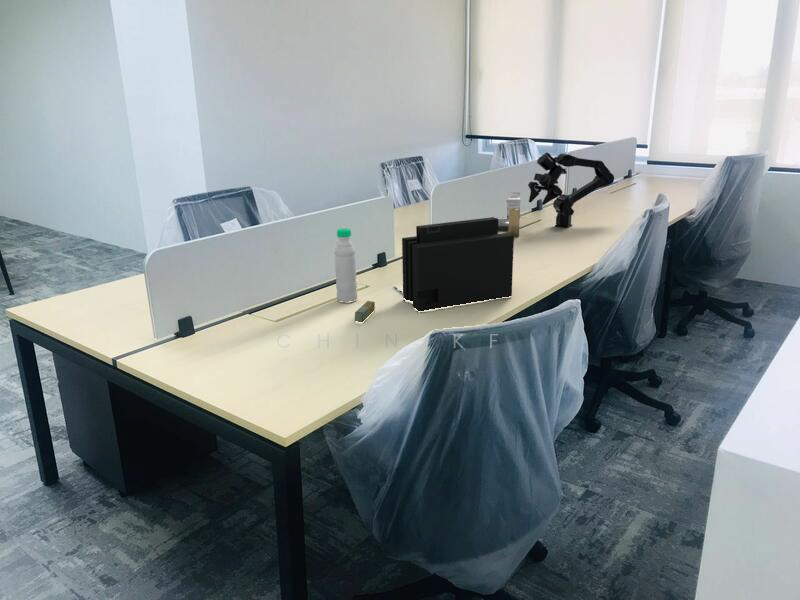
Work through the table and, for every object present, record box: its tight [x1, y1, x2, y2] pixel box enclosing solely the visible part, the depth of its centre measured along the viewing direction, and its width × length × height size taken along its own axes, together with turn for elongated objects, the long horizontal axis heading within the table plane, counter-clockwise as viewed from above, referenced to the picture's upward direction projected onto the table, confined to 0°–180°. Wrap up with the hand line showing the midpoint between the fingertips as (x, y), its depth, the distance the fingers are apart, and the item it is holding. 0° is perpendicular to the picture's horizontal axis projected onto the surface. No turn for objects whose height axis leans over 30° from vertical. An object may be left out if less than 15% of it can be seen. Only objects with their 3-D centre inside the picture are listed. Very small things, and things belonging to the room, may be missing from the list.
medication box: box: [354, 300, 376, 322], centre depth 213 cm, size 12×3×4 cm, turn 163°
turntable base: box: [498, 227, 508, 231], centre depth 330 cm, size 10×10×2 cm
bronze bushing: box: [507, 208, 521, 238], centre depth 312 cm, size 5×5×13 cm
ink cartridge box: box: [506, 191, 521, 219], centre depth 344 cm, size 9×5×15 cm, turn 84°
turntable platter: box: [497, 218, 509, 227], centre depth 329 cm, size 13×13×1 cm
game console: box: [401, 216, 515, 311], centre depth 232 cm, size 35×30×27 cm
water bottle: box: [333, 227, 358, 302], centre depth 226 cm, size 7×7×25 cm
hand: (535, 203), depth 320 cm, fingers open, 9 cm apart
